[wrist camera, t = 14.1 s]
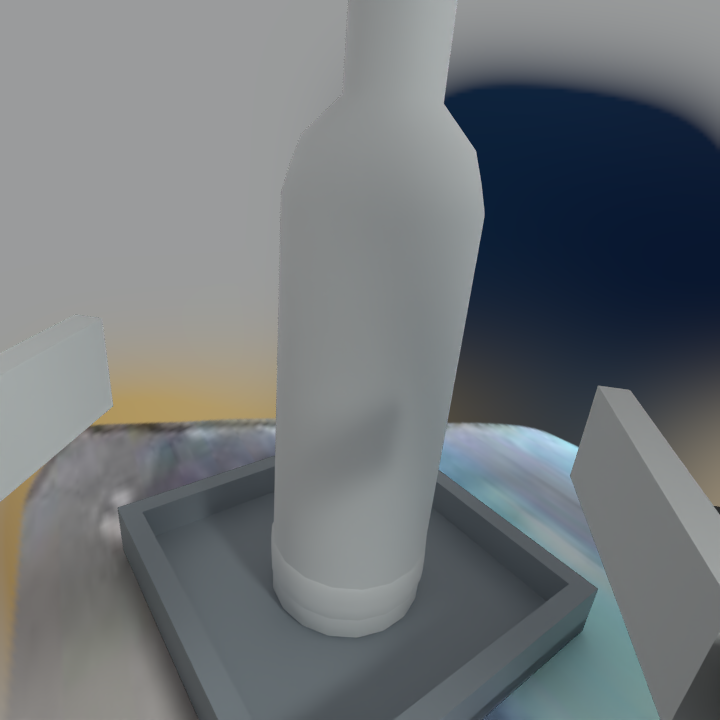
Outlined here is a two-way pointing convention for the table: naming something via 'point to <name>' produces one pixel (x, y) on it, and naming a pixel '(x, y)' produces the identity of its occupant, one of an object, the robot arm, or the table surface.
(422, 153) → the bottle
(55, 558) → the table surface
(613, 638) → the table surface
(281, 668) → the tray
